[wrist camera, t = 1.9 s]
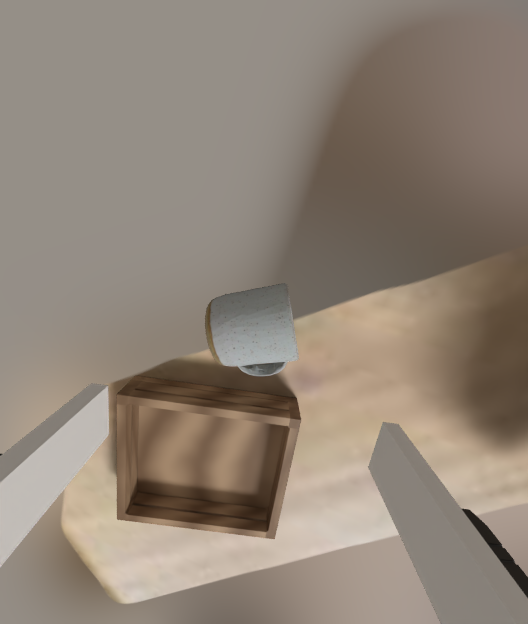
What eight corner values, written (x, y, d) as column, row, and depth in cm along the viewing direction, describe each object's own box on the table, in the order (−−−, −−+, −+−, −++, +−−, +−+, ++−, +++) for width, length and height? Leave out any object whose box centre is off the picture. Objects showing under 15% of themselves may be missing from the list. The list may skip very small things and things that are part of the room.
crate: (296, 398, 31) (301, 420, 27) (273, 507, 36) (274, 539, 32) (135, 375, 30) (116, 394, 27) (133, 489, 35) (116, 519, 31)
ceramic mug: (212, 291, 28) (193, 310, 20) (285, 277, 27) (292, 290, 20) (234, 375, 30) (223, 417, 23) (300, 363, 30) (311, 403, 23)
